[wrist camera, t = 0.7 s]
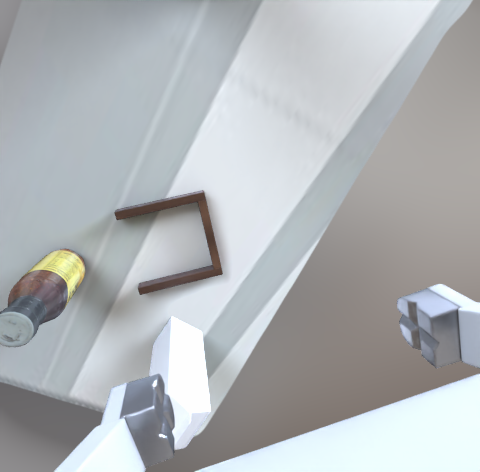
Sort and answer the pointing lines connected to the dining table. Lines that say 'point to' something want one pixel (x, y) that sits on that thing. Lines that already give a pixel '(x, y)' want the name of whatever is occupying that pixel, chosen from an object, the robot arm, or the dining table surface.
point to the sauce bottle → (40, 296)
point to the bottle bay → (200, 198)
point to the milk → (183, 377)
